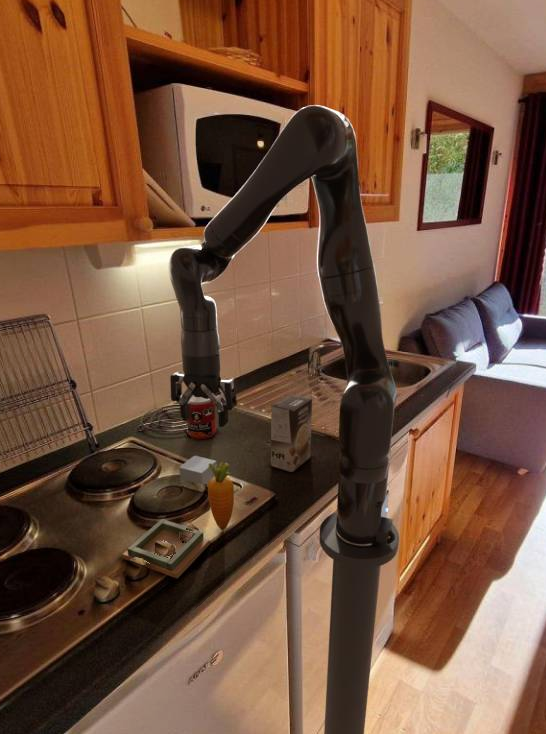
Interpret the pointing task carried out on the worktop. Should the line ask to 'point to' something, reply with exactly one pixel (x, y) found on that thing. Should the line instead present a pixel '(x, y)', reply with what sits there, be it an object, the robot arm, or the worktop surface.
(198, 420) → the canned food
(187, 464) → the light gray block
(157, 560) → the dock pad
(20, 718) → the worktop surface
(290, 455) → the coffee box
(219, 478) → the carrot
